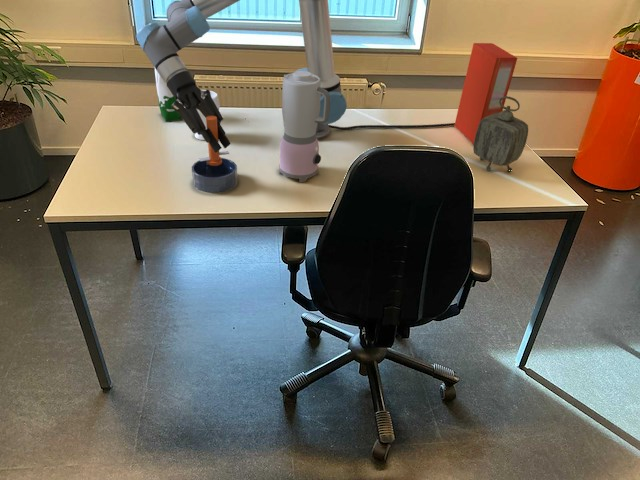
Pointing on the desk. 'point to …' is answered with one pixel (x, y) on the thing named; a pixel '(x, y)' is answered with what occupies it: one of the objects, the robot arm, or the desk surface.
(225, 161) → the bowl
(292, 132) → the blender
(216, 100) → the cup
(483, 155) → the tabletop clock
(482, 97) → the file binder
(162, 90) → the milk carton
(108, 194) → the desk surface
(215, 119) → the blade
